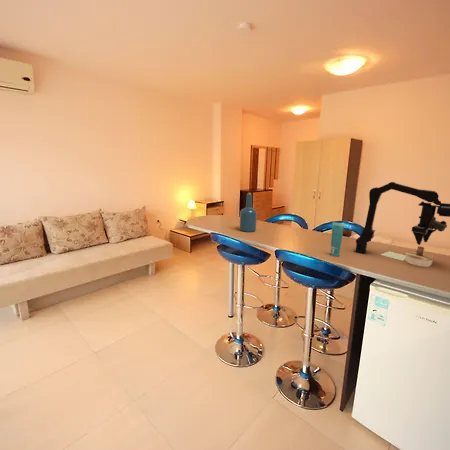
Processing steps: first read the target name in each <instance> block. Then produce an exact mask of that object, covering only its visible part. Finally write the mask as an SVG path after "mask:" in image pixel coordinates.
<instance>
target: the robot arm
mask: <svg viewBox="0 0 450 450" xmlns="http://www.w3.org/2000/svg"><path fill="white" fill-rule="evenodd" d="M390 190H394V191H397V192H399V193H404V194H408V195H410V196H414V197H417V198H419V199H421V200H422V201H421V202H420V203H418V207H419V206H420V207H421V213H420V215H419V216H418V219H419V222H418V223H417V225H414V226H412V227H411V230H410V231H411V232H412V233H413V236H414V238H415V241H416V243H417V245H419V246H420V245H421V244H422V241H423V242H424V243H427V242H428V240H429V239H430V236H431V235H432V234H433V233H435V232H436V231H438V232H440V233H441V232H444V231H445V229H447V227H448V224H447V221H445V220H442V221H439V220H437V219H436V216H435V214H436V215H438V217H439V216H440V217H446V218H447V217H449V218H450V203H447V202H446V203H445V202H442V201H441V200H440V199H439V193H437V191H435V190H430V189H429V190H428V189H419V188H415V187H412V186H408V185H404V184H401V183H397V182H395V181H391V182H390V181H389V182H388V183H387V184H385V185H382V186H379V187H377V186H376V187H373V188H371V189H370V190H369V193H368V194H369V195H368V197H369V205H368V210H367V215H366V219H365V224H364V228H363V230H362V232H361V234H360V236H359V237H357V239H355V243H356V244H355V250H353V251H352V252H354V253H357V254H360V255H365V254H369V252H368V251H367V247H368V243H369V242H371V240H372V239H373V238H374V237H375V233H376V230H375V229H373V228H374V221H375V216H376V212H377V209H378V208H377V207H378V203H379V201H380V200H381V196H382V194H384V193H386V192H389V191H390ZM424 201H425V202H424ZM432 203H433V205H432Z"/></svg>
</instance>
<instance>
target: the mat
mask: <svg viewBox="0 0 450 450" xmlns="http://www.w3.org/2000/svg"><path fill="white" fill-rule="evenodd" d="M380 256H384V257H387V258H390V259H395V260H398V261H402V262H403V261H405V257H406V254H401V253H397V252H393V251H386V252H383V253H381V254H380Z"/></svg>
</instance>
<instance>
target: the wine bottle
mask: <svg viewBox="0 0 450 450" xmlns="http://www.w3.org/2000/svg"><path fill="white" fill-rule="evenodd" d="M245 199H246V204H245V207H244V208H242V209H241V210H240V212H239V230H240V232H241V231H242V232H246V233H250V232H251V233H252V232H255V231H256V230H257V222H258V221H257V220H258V218H257V217H258V212H257V210H256V209H254V208H253V207H252V205H253V203H252V201H253V194H252V192H247V194H246V198H245Z"/></svg>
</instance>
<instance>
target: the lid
mask: <svg viewBox="0 0 450 450" xmlns="http://www.w3.org/2000/svg"><path fill="white" fill-rule="evenodd" d="M424 251H425V247H423V246H420V245H419V246H417V249H416V252H415V251H407V252H406V253H405V255H407V256H408V257H411V258H414V259H419V260H427V261H429V260H434V256H432V255H430V254H427V253H424Z"/></svg>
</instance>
